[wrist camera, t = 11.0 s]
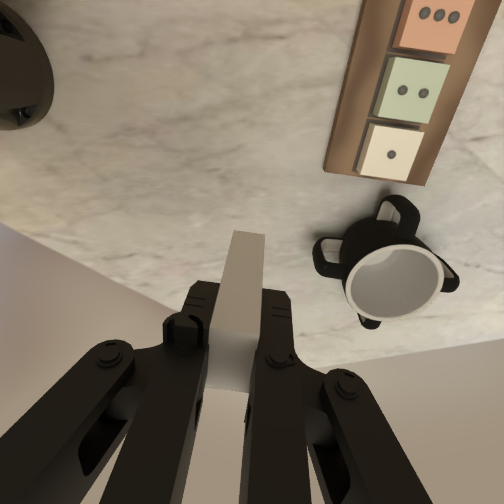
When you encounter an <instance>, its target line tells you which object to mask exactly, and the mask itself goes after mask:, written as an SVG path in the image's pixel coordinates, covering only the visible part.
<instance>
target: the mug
mask: <svg viewBox="0 0 504 504" xmlns="http://www.w3.org/2000/svg"><path fill="white" fill-rule="evenodd" d="M395 208H396V210H397V211H398V212H399V214H400V216H401V218H400V222H399V225H398V224H396V223H395V222H392V221H391V219H392V216H393V214H394V211H395ZM419 222H420V213H419V210H418V209H417V208H416V207H415V206H414V205H413V204H412V203H411V202H410V201H409V200H408V199H407V198H405V197H404V196H401V195H389V196H386V197H384V198H383V199H382V201H381V202H380V205H379V208H378V211H377V214H376V217H375V218H368V219H364V220H361V221H359V222H357V223H355V224H354V225H353V226H351V227H350V228H349V229H348V230H347V232H346V233H345V235H344V236H343V238H332V237H323V238H320V239H319V240H318V241H317V242H316V243H315V245H314V247H313V251H312V255H313V261H314V266H315V269H316V271H317V272H318V273H319V274H320V275H321V276H324V277H329V278H335V279H341V280H342V285H343V289H344V292H345V295H346V298H347V301H348V303H349V304H350V306H351V307H352V308H353V309H354V310H355V311H356V312H357V314H358V317H359V320H360V322H361V325H362V326H363V327H365V328H366V329H370V330H371V329H376V328H378V327H379V325H380V323H381V321H396V320H401V319H405V318H408V317H411V316H413V315H415V314H417V313H419V312H421V311H422V310H424V309H425V308H426V307H428V306H429V305H430V304H431V303H432V302H433V301H434V300H435V298H436V297H437V296H438V294H439V292H447V293H450V292H453V291H455V290H456V289H457V288H458V286H459V283H460V280H459V276H458V275H457V274H456V273H455V272H454V270H453V269H452V268H451V267H450V266H449V265H448V264H447V263H446V262H445V261H444V260H443V259H442V258H440V257H439V256H437V255H436V254H434V253H433V252H432V251H431V250H430V249H429V248H428V247H427V246H426V245H425V244H424V243H423V242H422V241H421V240H420V239H419V238H417V237H416V236H415V234H416V231H417V228H418V225H419ZM323 251H333V252H339V263H340V264H338V263H331V262H327V261H326V259H325V256H324V253H323Z"/></svg>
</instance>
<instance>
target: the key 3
mask: <svg viewBox="0 0 504 504" xmlns="http://www.w3.org/2000/svg"><path fill="white" fill-rule="evenodd" d="M474 2H475V0H406V1H405V5H404V8H403V11H402V15H401V18H400V22H399V25H398V28H397V32H396V35H395V39H394V42H393V45H392V48H398V49H405V50H412V51H419V52H426V53H432V54H439V55H451V54H455V52H456V49H457V46H458V44H459V41H460V38H461V36H462V33H463V31H464V28H465V25H466V23H467V20H468V18H469V15H470V12H471V10H472V7H473V4H474Z"/></svg>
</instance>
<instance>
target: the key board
mask: <svg viewBox="0 0 504 504" xmlns="http://www.w3.org/2000/svg"><path fill="white" fill-rule="evenodd" d="M405 1H406V0H363V2H362V7H361V11H360V15H359V19H358V23H357V27H356V32H355V36H354V40H353V44H352V48H351V52H350V57H349V61H348V65H347V69H346V73H345V78H344V82H343V86H342V90H341V94H340V98H339V103H338V107H337V111H336V115H335V119H334V123H333V128H332V132H331V136H330V140H329V144H328V148H327V153H326V157H325V161H324V165H323V170H324V171H325V172H328V173H336V174H343V175H350V176H357V177H364V178H371V179H378V180H385V181H392V182H399V183H406V184H413V185H420V186H425V184H426V181H427V179H428V177H429V174H430V172H431V169H432V167H433V165H434V162H435V160H436V157H437V155H438V153H439V150H440V148H441V145H442V143H443V141H444V138H445V136H446V133H447V131H448V128H449V126H450V124H451V121H452V119H453V116H454V114H455V112H456V109H457V107H458V104H459V102H460V100H461V97H462V95H463V92H464V90H465V88H466V85H467V83H468V80H469V78H470V76H471V73H472V71H473V68H474V66H475V64H476V61H477V59H478V56H479V54H480V52H481V49H482V47H483V44H484V42H485V40H486V37H487V35H488V32H489V30H490V28H491V25H492V23H493V20H494V18H495V15H496V13H497V11H498V8H499V6H500V3H501V1H502V0H475V2H474V4H473V7H472V10H471V12H470V15H469V18H468V20H467V23H466V25H465V28H464V31H463V33H462V36H461V38H460V41H459V44H458V46H457V49H456V52H455V54H451V55H439V54H432V53H426V52H419V51H412V50H405V49H398V48H392V45H393V42H394V39H395V35H396V32H397V28H398V25H399V22H400V18H401V15H402V11H403V8H404V5H405ZM392 57H399V58H406V59H413V60H420V61H427V62H433V63H440V64H447V65H450V67H449V70H448V73H447V75H446V78H445V80H444V83H443V86H442V88H441V91H440V94H439V96H438V99H437V101H436V104H435V107H434V109H433V112H432V114H431V117H430V120H429V122H428V124H427V123H420V122H413V121H406V120H399V119H392V118H385V117H378V116H376V115H373V110H374V107H375V103H376V100H377V97H378V93H379V90H380V86H381V83H382V80H383V76H384V73H385V69H386V66H387V63H388V59H389V58H392ZM370 123H376V124H383V125H390V126H397V127H404V128H411V129H417V130H420V131H422V132H425V133H424V135H423V138H422V141H421V143H420V146H419V148H418V151H417V154H416V156H415V159H414V162H413V164H412V167H411V169H410V172H409V175H408V177H407V180H406V181H402V180H395V179H388V178H381V177H374V176H366V175H360V174H359V173H358V171H357V170H356V168H357V164H358V161H359V158H360V154H361V151H362V147H363V144H364V141H365V137H366V134H367V130H368V127H369V124H370Z"/></svg>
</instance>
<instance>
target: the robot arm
mask: <svg viewBox="0 0 504 504" xmlns="http://www.w3.org/2000/svg"><path fill="white" fill-rule="evenodd" d="M52 98H53V76H52V71H51V67H50V63H49V60H48V58H47V55H46V53H45V51H44V49H43V47H42V45H41V43H40V41H39V40H38V38H37V37H36V35H35V34H34V32H33V31H32V30H31V28H30V27H29V26H28V25H27V24H26V22H25V21H24V20H23V19H22V18H21V17H20V16H19V15H18V14H16V13H15V12H14V11H13V10H12V9H10V8H9V7H7V6H6V5H4V4H3V3H1V2H0V130H17V129H21V128H26V127H29V126H32V125H34V124H36V123H37V122H39V121H40V120H41V119H42V118H43V117H44V116H45V115H46V113H47V112H48V110H49V108H50V105H51V102H52ZM264 243H265V235H264V234H257V233H250V232H242V231H235V230H234V232H233V236H232V240H231V244H230V248H229V252H228V256H227V260H226V264H225V268H224V272H223V276H222V280H221V283H214V282H207V281H199V280H198V281H197V282H196V283H195V284H193V285H192V286H191V287H190V289H189V292H188V294H187V298H186V300H185V302H184V305H183V307H182V310H181V312H178V313H175V314H172V315H171V316H169V317H167V318H166V320H165V321H164V322H163V343H162V344H160V345H157V346H154V347H150V348H144V349H136V350H133V348H132V346H131V344H129V343H127V342H125V341H122V340H107V341H104V342H102V343H99V344H97V345H96V346H94V347H93V348H91V349H90V350H89V351H88V352H87V353H86V354H85V355H84V356H83V357H82V358H81V359H80V360H79V361H78V362H77V363H76V364H75V365H74V366H73V367H72V368H71V369H70V370H69V371H68V372H67V373H66V374H65V375H64V376H63V377H62V378H60V379H59V380H58V381H57V382H56V383H55V384H54V385H53V386H52V388H50V389H49V390H48V391H47V392H46V393H45V394H44V395H43V396H42V397H41V398H40V399H39V400H38V401H37V402H36V403H35V404H34V405H33V406H32V407H31V408H30V409H29V410H28V411H27V412H26V413H25V414H24V415H23V416H22V417H21V418H20V419H19V420H18V421H17V422H16V423H15V424H14V425H13V426H12V427H11V428H10V429H9V430H8V431H7V432H6V433H5V434H4V435H3V436H2V437H1V438H0V504H80V503H81V501H82V500H83V498H84V497H85V495H86V494H87V492H88V491H89V489H90V488H91V486H92V485H93V483H94V482H95V480H96V479H97V477H98V476H99V474H100V473H101V471H102V470H103V468H104V467H105V465H106V464H107V462H108V461H109V459H110V458H111V456H112V455H113V453H114V452H115V450H116V449H117V447H118V446H119V444H120V443H121V441H122V440H123V438H124V437H125V435H126V434H127V435H126V438H125V440H124V443H123V445H122V448H121V450H120V453H119V455H118V457H117V460H116V463H115V465H114V468H113V470H112V473H111V475H110V477H109V480H108V482H107V485H106V487H105V490H104V492H103V495H102V498H101V500H100V502H99V504H181V503H182V498H183V493H184V488H185V484H186V478H187V474H188V469H189V465H190V460H191V455H192V450H193V446H194V441H195V436H196V431H197V427H198V422H199V417H200V412H201V407H202V403H203V392H204V387H208V388H216V389H224V390H231V391H239V392H246V393H249V398H248V404H247V409H246V415H245V420H244V423H245V434H244V446H243V458H242V469H241V483H240V495H239V504H312V502H311V490H310V479H309V467H308V455H307V447H308V451H309V454H310V457H311V460H312V463H313V467H314V470H315V473H316V476H317V480H318V483H319V486H320V489H321V492H322V496H323V499H324V502H325V504H433V503H432V501H431V499H430V498H429V496H428V494H427V492H426V490H425V489H424V487H423V485H422V483H421V481H420V480H419V478H418V476H417V474H416V472H415V470H414V469H413V467H412V465H411V463H410V461H409V460H408V458H407V456H406V454H405V452H404V451H403V449H402V447H401V445H400V443H399V442H398V440H397V438H396V436H395V434H394V432H393V431H392V429H391V427H390V425H389V423H388V422H387V420H386V418H385V416H384V414H383V413H382V411H381V409H380V407H379V405H378V404H377V402H376V400H375V398H374V396H373V395H372V393H371V391H370V389H369V387H368V386H367V384H366V383H365V382H364V380H363V379H362V378H360V377H359V376H358V375H357V374H355V373H354V372H351V371H349V370H346V369H338V368H337V369H334V370H330V371H329V372H328V373H327V374H324V373H321V372H319V371H316V370H314V369H312V368H310V367H308V366H307V365H305V364H304V363H303V362H302V361H301V360H300V359H299V358H298V356H297V354H296V353H295V349H294V339H293V325H292V312H291V300H290V298H289V297H288V295H287V294H286V292H285V291H279V290H271V289H264V288H262V281H263V262H264ZM127 432H128V433H127Z"/></svg>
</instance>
